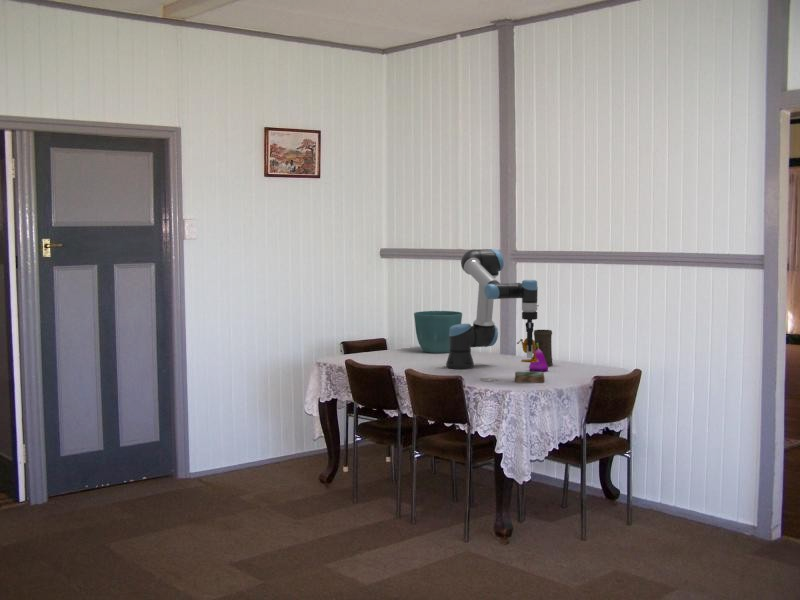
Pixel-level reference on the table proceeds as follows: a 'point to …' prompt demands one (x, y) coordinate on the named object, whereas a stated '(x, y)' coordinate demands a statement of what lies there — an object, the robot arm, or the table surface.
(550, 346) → the beer stein
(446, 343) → the flower pot
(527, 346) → the robot arm
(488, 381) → the coaster
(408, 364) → the table surface
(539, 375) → the podium
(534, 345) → the figurine
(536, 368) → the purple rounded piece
